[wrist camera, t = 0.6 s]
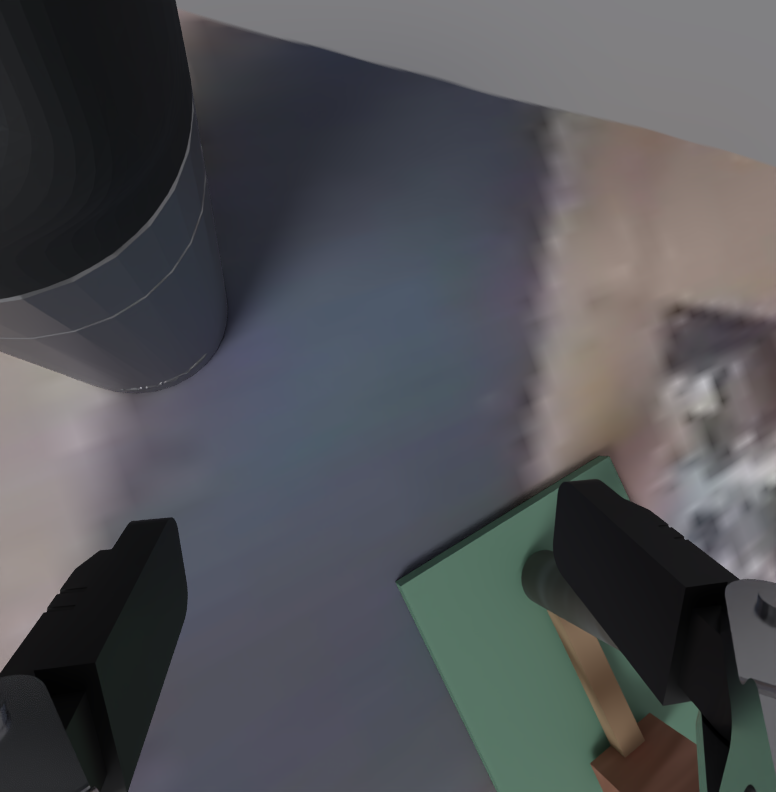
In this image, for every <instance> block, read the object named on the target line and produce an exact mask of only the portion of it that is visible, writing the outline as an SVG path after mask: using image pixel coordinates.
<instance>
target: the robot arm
mask: <svg viewBox="0 0 776 792" xmlns="http://www.w3.org/2000/svg"><path fill="white" fill-rule="evenodd" d="M227 318H228V314H227V296H226V290H225V284H224V276H223V270H222V264H221V258H220V252H219V246H218V240H217V234H216V228H215V222H214V216H213V210H212V204H211V198H210V192H209V186H208V180H207V174H206V168H205V162H204V156H203V150H202V145H201V141H200V135H199V129H198V123H197V117H196V111H195V105H194V99H193V93H192V87H191V79H190V73H189V67H188V62H187V57H186V52H185V46H184V41H183V36H182V31H181V26H180V21H179V16H178V11H177V6H176V1H175V0H0V352H3V353H6V354H8V355H11V356H14V357H17V358H19V359H22V360H25V361H28V362H31V363H33V364H36V365H39V366H42V367H44V368H47V369H50V370H53V371H55V372H58V373H61V374H64V375H66V376H69V377H71V378H74V379H77V380H80V381H83V382H85V383H88V384H91V385H94V386H97V387H101V388H104V389H108V390H111V391H115V392H125V393H145V392H154V391H159V390H162V389H165V388H168V387H172V386H175V385H177V384H179V383H180V382H182V381H184V380H186V379H188V378H190V377H191V376H193V375H194V374H195V373H196V372H197V371H199V370H200V369H201V368H202V367H203V366H205V365H206V364H207V362H208V361H209V360H210V358H211V357H212V356H213V354H214V353H215V352H216V350H217V349H218V346H219V344H220V342H221V340H222V338H223V335H224V332H225V327H226V322H227ZM553 554H554V559H555V562H556V565H557V568H558V570H559V572H560V573H561V575H562V576H563V578H564V579H565V580H566V581H567V583H568V584H569V585H570V587H571V588H572V589H573V591H574V592H575V593H576V594H577V596H578V597H579V598H580V600H581V601H582V602H583V603H584V605H585V606H586V607H587V609H588V610H589V611H590V613H591V614H592V615H593V616H594V618H595V619H596V620H597V622H598V623H599V624H600V625H601V627H602V628H603V629H604V631H605V632H606V633H607V634H608V636H609V637H610V638H611V640H612V641H613V642H614V644H615V645H616V646H617V647H618V649H619V650H620V651H621V653H622V654H623V655H624V656H625V658H626V659H627V660H628V662H629V663H630V664H631V666H632V667H633V668H634V669H635V671H636V672H637V673H638V675H639V676H640V677H641V678H642V680H643V681H644V682H645V684H646V685H647V686H648V687H649V689H650V690H651V691H652V693H653V694H654V695H655V697H656V698H657V699H658V700H659V702H660V703H661V704H662V706H667V705H673V704H679V703H684V702H690V701H692V702H693V703H694V705H695V706H696V707H697V708H698V709H699V710H698V715H697V720H696V744H697V760H698V776H699V792H776V583H773V582H768V581H764V580H756V579H742V580H740V579H738V578H737V577H736V576H734V575H733V574H732V573H731V572H729V571H728V570H727V569H725V568H724V567H723V566H721V565H720V564H719V563H718V562H716V561H715V560H714V559H712V558H711V557H710V556H708V555H707V554H706V553H705V552H703V551H702V550H701V549H699V548H698V547H697V546H696V545H694V544H693V543H692V542H690V541H689V540H685V539H684V536H683V535H681V534H680V533H679V532H677V531H676V530H675V529H673V528H672V527H671V528H669V527H668V524H667V523H666V522H664V521H663V520H662V519H660V518H659V517H658V516H657V515H655V514H654V513H653V512H651V511H650V510H648V509H646V508H644V507H642V506H639V505H637V504H635V503H633V502H631V501H629V500H626V499H624V498H622V497H621V496H620V495H619V494H617V493H616V492H615V491H614V490H612V489H611V488H610V487H609V486H607V485H606V484H605V483H604V482H602V481H601V480H599V479H589V480H578V481H567V482H563V483H562V484H561V485H560V487H559V489H558V494H557V505H556V516H555V526H554V537H553ZM187 599H188V592H187V582H186V576H185V569H184V563H183V557H182V551H181V545H180V539H179V533H178V527H177V524H176V521H175V520H174V518H172V517H171V518H160V519H149V520H139V521H131V522H130V523H129V524H128V525H127V527H126V528H125V530H124V531H123V533H122V534H121V536H120V538H119V539H118V541H117V542H116V544H115V545H114V547H113V548H112V549H110V550H100V551H98V552H97V553H96V554H95V555H93V556H92V557H91V558H89V559H88V560H87V561H85V562H84V563H83V564H81V565H80V566H79V567H77V568H76V569H75V570H74V571H73V573H72V574H71V576H70V577H69V578H68V580H67V581H66V583H65V584H64V585H63V587H62V588H61V590H60V594H57V595H56V596H55V598H54V599H53V601H52V602H51V603H50V605H49V606H48V608H47V612H45V613H43V614H42V616H41V617H40V619H39V620H38V621H37V623H36V624H35V626H34V627H33V628H32V630H31V631H30V633H29V634H28V635H27V637H26V638H25V639H24V641H23V642H22V644H21V645H20V646H19V648H18V649H17V651H16V652H15V653H14V655H13V656H12V657H11V659H10V660H9V662H8V663H7V664H6V666H5V667H4V669H3V670H2V671H1V673H0V792H128V790H129V787H130V783H131V780H132V777H133V774H134V771H135V768H136V765H137V762H138V759H139V756H140V753H141V750H142V747H143V744H144V741H145V738H146V735H147V732H148V729H149V726H150V723H151V720H152V717H153V714H154V711H155V708H156V705H157V702H158V699H159V696H160V693H161V689H162V686H163V683H164V680H165V677H166V674H167V671H168V668H169V665H170V662H171V659H172V656H173V653H174V650H175V647H176V644H177V641H178V638H179V635H180V632H181V629H182V626H183V623H184V620H185V616H186V610H187Z"/></svg>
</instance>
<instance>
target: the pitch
mask: <svg viewBox="0 0 776 792" xmlns="http://www.w3.org/2000/svg"><path fill="white" fill-rule="evenodd" d="M589 479H599V480H601V481H602V482H604V483H605V484H606V485H607V486H609V487H610V488H611V489H612V490H614V491H615V492H616V493H617V494H619V495H620V496H621V497H622V498H624V499H626V500H629V498H628V496H627V494H626V491H625V489H624V487H623V485H622V483H621V481H620V478H619V476H618V474H617V472H616V470H615V468H614V465H613V463H612V461H611V459H610V457H609V456H598V457H597V458H595V459H593V460H592V461H590V462H588V463H587V464H585V465H584V466H582V467H580V468H579V469H577V470H575V471H574V472H572V473H571V474H569V475H567V476H566V477H564V478H563V479H561V480H559V481H558V482H556V483H554V484H553V485H551V486H550V487H548V488H546V489H545V490H543V491H541V492H540V493H538V494H537V495H535V496H533V497H532V498H530V499H528V500H527V501H525V502H524V503H522V504H520V505H519V506H517V507H516V508H514V509H512V510H511V511H509V512H507V513H506V514H504V515H503V516H501V517H499V518H498V519H496V520H494V521H493V522H491V523H490V524H488V525H486V526H485V527H483V528H482V529H480V530H478V531H477V532H475V533H473V534H472V535H470V536H469V537H467V538H465V539H464V540H462V541H460V542H459V543H457V544H456V545H454V546H452V547H451V548H449V549H447V550H446V551H444V552H443V553H441V554H439V555H438V556H436V557H435V558H433V559H431V560H430V561H428V562H426V563H425V564H423V565H422V566H420V567H418V568H417V569H415V570H413V571H412V572H410V573H409V574H407V575H405V576H404V577H402V578H400V579H399V580H397V581H396V584H397V586H398V588H399V590H400V592H401V594H402V597H403V599H404V601H405V603H406V605H407V607H408V609H409V611H410V613H411V615H412V617H413V619H414V621H415V623H416V625H417V628H418V630H419V632H420V634H421V636H422V638H423V640H424V642H425V644H426V646H427V648H428V650H429V652H430V654H431V656H432V659H433V661H434V663H435V665H436V667H437V669H438V671H439V673H440V675H441V677H442V679H443V681H444V683H445V685H446V687H447V690H448V692H449V694H450V696H451V698H452V700H453V702H454V704H455V706H456V708H457V710H458V712H459V714H460V716H461V718H462V721H463V723H464V725H465V727H466V729H467V731H468V733H469V735H470V737H471V739H472V741H473V743H474V745H475V747H476V749H477V752H478V754H479V756H480V758H481V760H482V762H483V764H484V766H485V768H486V770H487V772H488V774H489V776H490V778H491V780H492V783H493V785H494V787H495V789H496V791H497V792H603V790H602V788H601V786H600V784H599V782H598V779H597V777H596V775H595V773H594V771H593V769H592V767H591V765H590V763H591V762H592V761H593V760H595V759H596V758H597V757H598V756H599V755H600V754H602V753H603V752H604V751H605V750H606V749H607V748H609V747H610V746H611V745H610V743H609V741H608V738H607V736H606V734H605V732H604V730H603V728H602V726H601V724H600V722H599V719H598V717H597V715H596V713H595V711H594V709H593V707H592V705H591V702H590V700H589V698H588V696H587V694H586V692H585V690H584V688H583V686H582V683H581V681H580V679H579V677H578V675H577V673H576V671H575V669H574V666H573V664H572V662H571V660H570V658H569V656H568V654H567V652H566V650H565V647H564V645H563V643H562V641H561V639H560V637H559V635H558V633H557V630H556V628H555V626H554V624H553V622H552V620H551V618H550V616H549V614H548V611H547V609H545V608H543V607H542V606H540V605H538V604H536V603H534V602H533V601H531V600H530V599H529V598H528V597H527V595H526V594H525V592H524V590H523V587H522V582H521V576H522V570H523V567H524V565H525V563H526V561H527V560H528V558H529V557H530V556H531V555H533V554H534V553H536V552H538V551H541V550H550V551H553V537H554V526H555V516H556V505H557V494H558V489H559V487H560V485H561V484H562V483H563V482H567V481H578V480H589ZM629 501H630V500H629ZM597 639H598V638H597ZM598 642H599V644H600V646H601V648H602V650H603V652H604V654H605V657H606V659H607V661H608V663H609V665H610V667H611V669H612V671H613V674H614V676H615V678H616V680H617V682H618V684H619V686H620V688H621V691H622V693H623V695H624V697H625V699H626V701H627V703H628V706H629V708H630V710H631V712H632V714H633V716H634V718H635V720H636V723H638V722H639V721H640V720H642V719H643V718H644V717H645V716H646V715H647V714H649V713H651V714H652V715H654V716H655V717H657V718H658V719H660V720H661V721H663V722H664V723H666V724H667V725H669V726H670V727H671V728H673V729H674V730H676V731H677V732H679V733H680V734H682V735H683V736H685V737H686V738H688V739H689V740H691V741H692V742H694V743H695V744H696V720H697V715H698V710H699V709H698V708H697V707H696V706H695V705H694V703H693V702H692V701H690V702H684V703H679V704H673V705H667V706H662V704H661V703H660V702H659V700H658V699H657V698H656V697H655V695H654V694H653V693H652V691H651V690H650V689H649V687H648V686H647V685H646V684H645V682H644V681H643V680H642V678H641V677H640V676H639V675H638V673H637V672H636V671H635V669H634V668H633V667H632V666H631V664H630V663H629V662H628V660H627V659H626V658H625V656H624V655H623V654H622V653H621V651H619V650H617V649H616V648H614V647H612V646H610V645H609V644H607V643H605V642H603V641H601V640H600V639H598Z"/></svg>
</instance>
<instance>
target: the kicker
mask: <svg viewBox="0 0 776 792" xmlns="http://www.w3.org/2000/svg"><path fill="white" fill-rule="evenodd" d="M521 582H522V587H523V590H524V592H525V594H526V595H527V597H528V598H529V599H530V600H531V601H533V602H534V603H536V604H538V605H540V606H542V607H543V608H545V609H547V611H548V614H549V616H550V618H551V620H552V622H553V624H554V626H555V628H556V630H557V633H558V635H559V637H560V639H561V641H562V643H563V645H564V647H565V650H566V652H567V654H568V656H569V658H570V660H571V662H572V664H573V666H574V669H575V671H576V673H577V675H578V677H579V679H580V681H581V683H582V686H583V688H584V690H585V692H586V694H587V696H588V698H589V700H590V702H591V705H592V707H593V709H594V711H595V713H596V715H597V717H598V719H599V722H600V724H601V726H602V728H603V730H604V732H605V734H606V736H607V738H608V741H609V743H610V745H611V746H610V747H609V748H607V749H606V750H605V751H604V752H603V753H602V754H600V755H599V756H598V757H597V758H596V759H595V760H593V761H592V762H591V763H590V765H591V767H592V769H593V771H594V773H595V775H596V777H597V779H598V782H599V784H600V786H601V788H602V790H603V792H699V776H698V760H697V744H695V743H694V742H692V741H691V740H689V739H688V738H686V737H685V736H683V735H682V734H680V733H679V732H677V731H676V730H674V729H673V728H671V727H670V726H669V725H667V724H666V723H664V722H663V721H661V720H660V719H658V718H657V717H655V716H654V715H652V714H651V713H649V714H647V715H646V716H645V717H644V718H643V719H642V720H640V721H639V722H638V723H636V720H635V718H634V716H633V714H632V712H631V710H630V708H629V706H628V703H627V701H626V699H625V697H624V695H623V693H622V691H621V688H620V686H619V684H618V682H617V680H616V678H615V676H614V674H613V671H612V669H611V667H610V665H609V663H608V661H607V659H606V657H605V654H604V652H603V650H602V648H601V646H600V644H599V642H598V639H600V640H601V641H603V642H605V643H607V644H609V645H610V646H612V647H614V648H616V649H617V650H619V649H618V647H617V646H616V645H615V644H614V642H613V641H612V640H611V638H610V637H609V636H608V634H607V633H606V632H605V631H604V629H603V628H602V627H601V625H600V624H599V623H598V622H597V620H596V619H595V618H594V616H593V615H592V614H591V613H590V611H589V610H588V609H587V607H586V606H585V605H584V603H583V602H582V601H581V600H580V598H579V597H578V596H577V594H576V593H575V592H574V591H573V589H572V588H571V587H570V585H569V584H568V583H567V581H566V580H565V579H564V578H563V576H562V575H561V573H560V572H559V570H558V568H557V565H556V562H555V559H554V554H553V551H550V550H541V551H538V552H536V553H534V554H533V555H531V556H530V557H529V558H528V560H527V561H526V563H525V565H524V567H523V570H522V576H521ZM597 638H598V639H597ZM619 651H620V650H619Z"/></svg>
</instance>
